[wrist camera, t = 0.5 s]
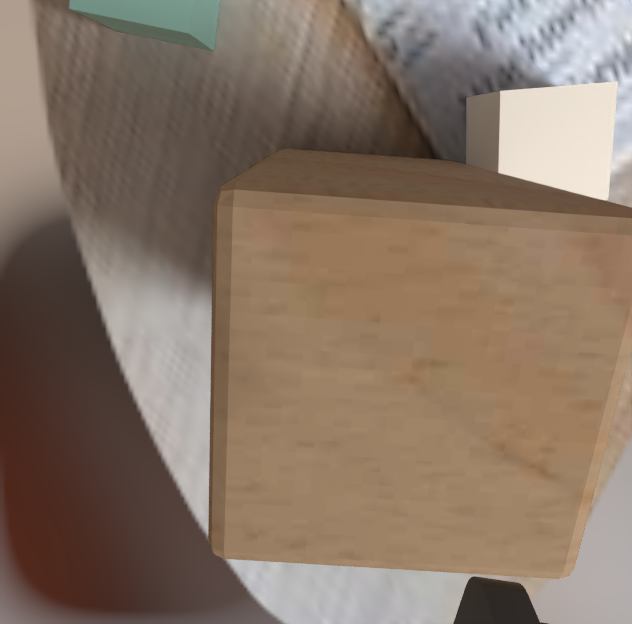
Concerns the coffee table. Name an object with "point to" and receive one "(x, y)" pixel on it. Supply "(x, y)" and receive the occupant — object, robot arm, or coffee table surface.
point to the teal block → (157, 18)
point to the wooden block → (411, 364)
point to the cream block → (546, 135)
